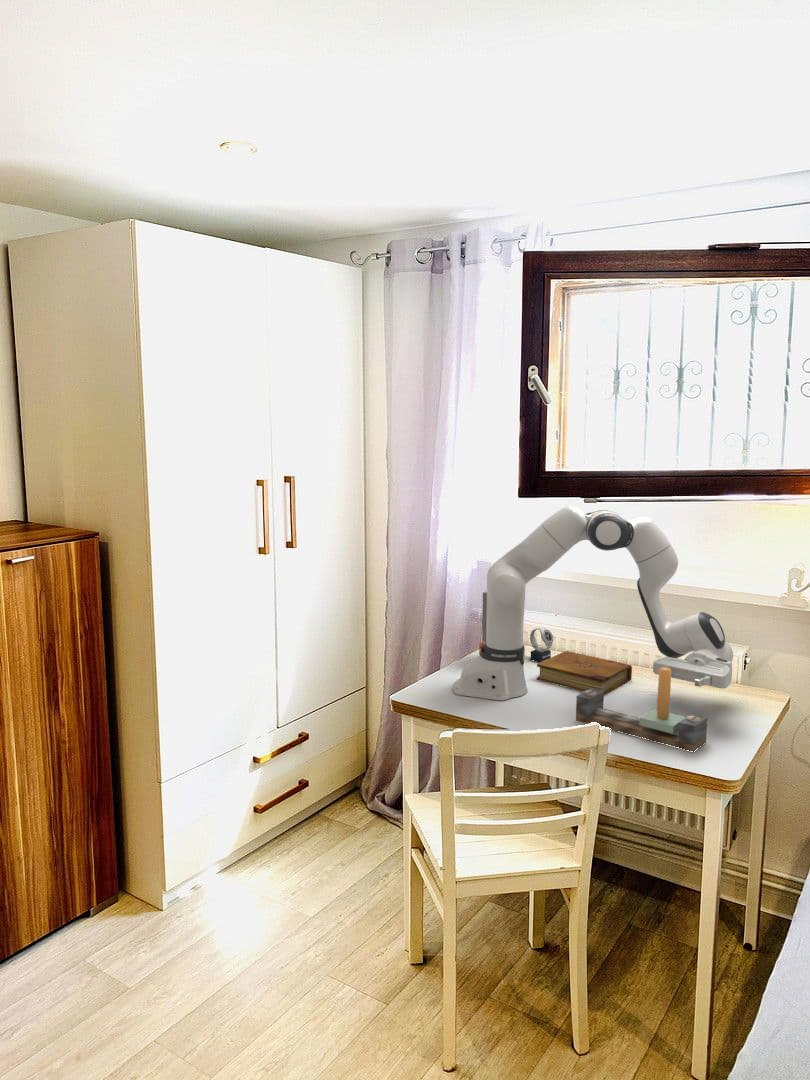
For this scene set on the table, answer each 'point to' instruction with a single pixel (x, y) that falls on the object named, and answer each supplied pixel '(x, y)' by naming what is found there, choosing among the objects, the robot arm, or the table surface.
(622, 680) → the diary
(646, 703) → the table surface
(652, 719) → the slider with orange handle
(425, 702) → the table surface
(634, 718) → the rail
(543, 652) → the watch
